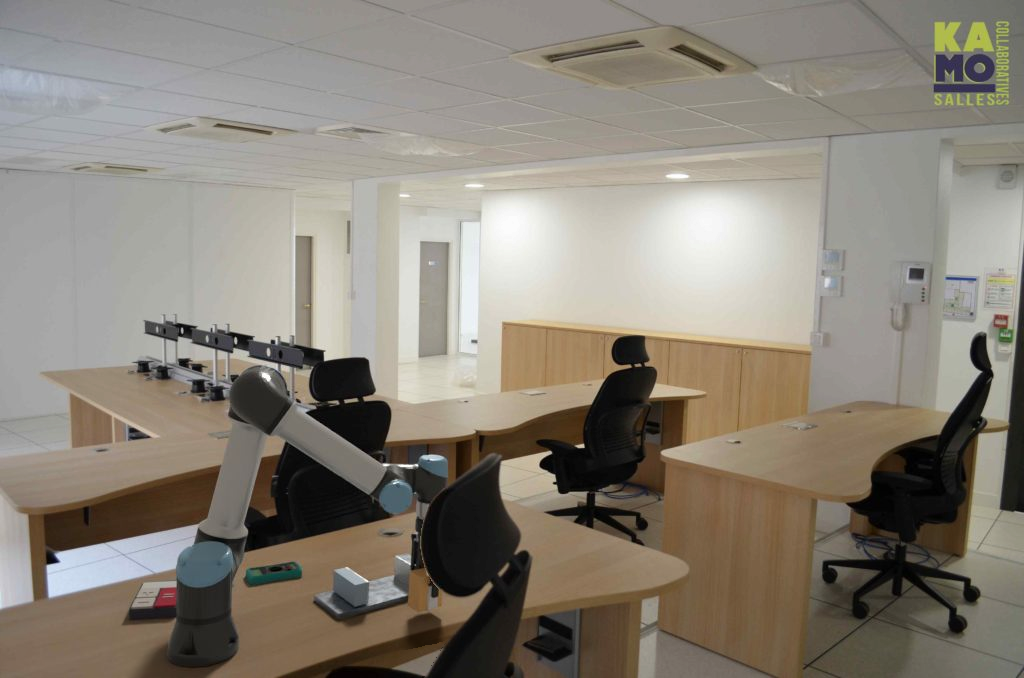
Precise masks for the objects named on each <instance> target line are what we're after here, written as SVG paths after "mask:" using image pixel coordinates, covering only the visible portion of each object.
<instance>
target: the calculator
mask: <svg viewBox="0 0 1024 678" xmlns="http://www.w3.org/2000/svg"><path fill="white" fill-rule="evenodd" d="M176 590H177V580H174V581H173V580H171V581H152V582H143V583H141V585H140V587H139V589H138V591H137V593H136V595H135V598H134V599H133V601H132V602H131V605H130V607H129V609H128V620H129V621H137V620H138V621H140V620H141V621H142V620H155V619H156V620H158V619H171V618H172V619H173V618H175V619H176Z"/></svg>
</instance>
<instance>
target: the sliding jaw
mask: <svg viewBox="0 0 1024 678" xmlns="http://www.w3.org/2000/svg"><path fill="white" fill-rule="evenodd" d="M332 576H333V578H332V579H333V583H332V584H333V585H332V586H333V587H332V588H333V589H332V590H333V591H334V592H335V593H337V594H338V595H340V596H341V597H342V598H344V599H345V600H346V601H348V602H349V603H350V604H352V605H353V606H354V607H355V606H359V605H363V604H366V603H368V601H369V581H370V580H369V581H368V580H367V579H366V578H364V577H363V576H361V575H360V574H358V573H357V572H355V571H354V570H353V569H351V568H349V567H348V566H346V567H342V568H338V569H334V570H333V575H332Z"/></svg>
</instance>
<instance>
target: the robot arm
mask: <svg viewBox="0 0 1024 678" xmlns="http://www.w3.org/2000/svg"><path fill="white" fill-rule="evenodd" d="M287 394H288V384H287V381H286V378H285V377H284V374H283V373H282V372H280V370H278V369H277V368H275V367H273V366H271V365H267V364H257V365H253V366H249V367H248V368H246V369H245V370H244V371H242V372H241V374H240V375H239V376H237V377H236V378H235V379H234V380H233V382H232V384H231V386H230V389H229V391H228V400H229V405H230V406H229V410H228V414H227V418H228V419H229V421H230V423H231V428H230V430H229V431H230V432H229V434H228V435H229V436H228V438H227V443H226V446H225V450H224V454H223V458H222V461H221V465H220V469H219V474H218V477H217V479H216V484H215V488H214V492H213V496H212V498H211V499H212V500H211V504H210V507H209V510H208V514H207V518H205V519H203V520H202V521H200V522H199V523H198V526H197V530H196V534H195V538H194V542H193V544H192V545H191V546H187V547H186V548H184V549H182V551H181V552H180V553H179V555H178V557H177V561H176V565H175V574H176V581H177V590H176V617H175V623H174V625H173V629H172V632H171V634H170V636H169V640H168V643H167V650H166V651H167V652H166V653H167V659H168V661H169V662H171V663H172V664H174V665H176V666H181V667H188V668H189V667H190V668H197V667H206V666H212V665H216V664H219V663H222V662H224V661H226V660H228V659H230V658H231V657H233V656H234V655H235V654H236V653H237V652H238V651H239V649H240V635H239V632H238V629H237V627H236V623H235V620H234V617H233V615H232V610H233V609H232V605H233V599H232V598H233V582H234V579H235V577H236V576H237V572H238V570H239V567H240V566H241V564H242V562H243V559H244V556H245V546H246V542H247V539H248V536H249V529H248V528H247V527H246V526H245V521H246V518H247V513H248V509H249V506H250V503H251V498H252V496H253V491H254V486H255V483H256V479H257V476H258V472H259V468H260V465H261V461H262V456H263V453H264V449H265V445H266V442H267V438H268V436H269V437H274V436H276V437H279V438H280V439H282V440H284V442H287V443H288V444H290V445H291V446H293V447H295V448H296V449H298V450H299V451H300V452H302V453H304V454H305V455H307V456H308V457H310V458H312V460H314V461H316V462H317V463H319V464H320V465H322V466H323V467H325V468H327V469H328V470H329V471H331V472H333V473H334V474H336V475H337V476H339V477H341V478H342V479H344V480H345V481H347V482H348V483H350V484H351V485H353V486H355V487H356V488H357V489H359V490H360V491H362V492H364V493H365V494H367V495H369V496H370V497H371V498H372V499H374V500H376V501H377V502H379V504H380V506H381V507H382V509H383V510H384V511H385V512H387V513H389V514H393V515H394V514H395V515H398V514H402V513H404V512H405V511H407V510H408V509H409V508H410V506H411V505H412V503H413V502H412V501H413V495H416V506H415V516H416V517H415V523H414V524H415V527H414V529H415V532H414V533H411V534H410V537H411V550H410V551H411V552H410V555H411V566H410V569H411V571H412V570H417V569H421V568H425V567H424V563H423V560H422V555H421V549H420V536H421V528H422V524H423V520H424V518H425V515H426V511H427V509H428V507H429V504H430V503H431V501H432V500H433V498H434V497H435V496H436V495H437V494H438V493H439V492H440V491H441V490H442V489H443V488H445V487H446V486H447V487H448V480H449V479H448V478H449V473H448V472H449V471H448V469H449V468H448V466H449V464H448V463H449V462H448V459H447V458H446V457H445V456H442V455H439V454H423V455H421V456H420V457H419V459H418V462H417V463H387V462H383V463H381V462H379V461H378V460H376V459H375V458H373V457H372V456H370V455H369V454H367V453H366V452H364V451H362V449H360V448H358V447H357V446H355V445H354V444H352V443H351V442H349V441H348V440H346V439H345V438H343V437H342V436H341V435H339V434H338V433H336V432H334V431H332V430H331V429H330V428H329V427H327V426H325V425H324V424H323V423H320V421H318V420H316V419H315V418H313V417H312V416H310V415H309V414H307V413H306V412H304V411H303V410H301V408H298V406H297V401H296V400H295V399H294V398H292V397H290V396H289V395H287ZM415 564H416V565H415ZM438 595H439V589H438V588H437V587H436V586H435V585H434V584H433V582H432V581H431V579H430V583H429V584H428V595H427V610H426V611H430V610H434V609H437V608H438V607H437V601H438Z"/></svg>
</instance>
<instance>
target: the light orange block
mask: <svg viewBox="0 0 1024 678" xmlns="http://www.w3.org/2000/svg"><path fill="white" fill-rule="evenodd" d="M429 583H430V577H429V575H428V573H427V571H426V569H425V568H421V569H417V570H412V571H410V579H409V595H408V601H407V605H408V606H409V607H410V608H412V609H413V610H415V611H416V612H417V613H421V612H425V611H428V610H427V595H428V584H429ZM442 601H443V590H442V591H441V590H439V595H438V601H437V608H440V607H442V603H443V602H442Z"/></svg>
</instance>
